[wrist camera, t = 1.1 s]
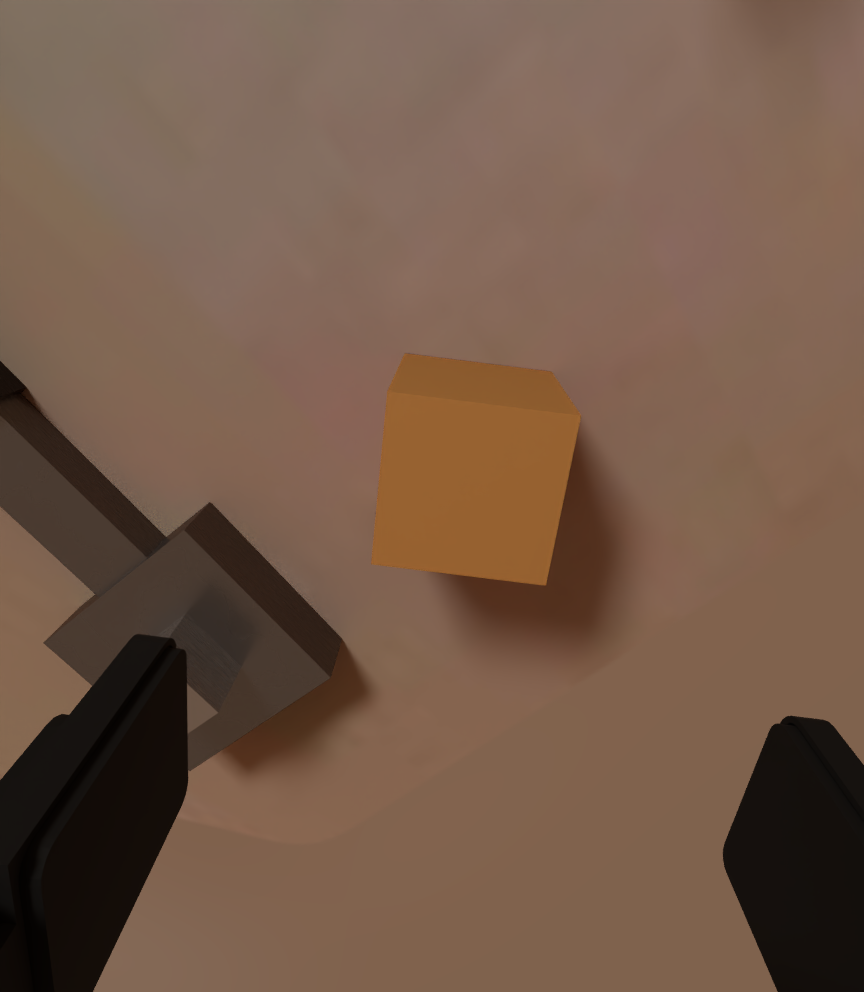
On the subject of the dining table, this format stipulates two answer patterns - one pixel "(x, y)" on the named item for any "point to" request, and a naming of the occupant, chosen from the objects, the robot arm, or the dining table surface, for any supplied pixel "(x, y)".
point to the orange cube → (473, 469)
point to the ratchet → (162, 586)
